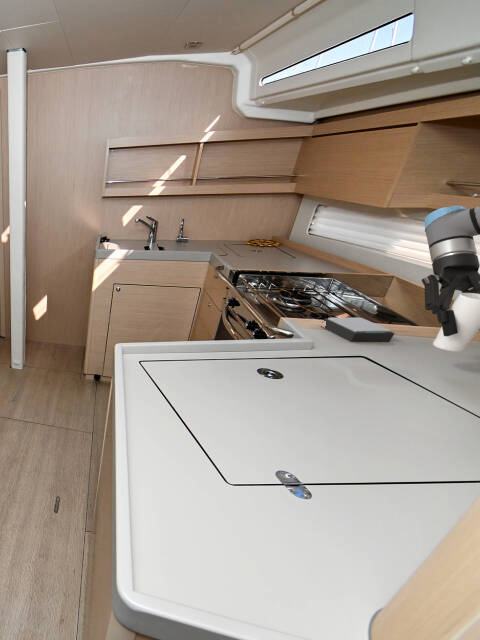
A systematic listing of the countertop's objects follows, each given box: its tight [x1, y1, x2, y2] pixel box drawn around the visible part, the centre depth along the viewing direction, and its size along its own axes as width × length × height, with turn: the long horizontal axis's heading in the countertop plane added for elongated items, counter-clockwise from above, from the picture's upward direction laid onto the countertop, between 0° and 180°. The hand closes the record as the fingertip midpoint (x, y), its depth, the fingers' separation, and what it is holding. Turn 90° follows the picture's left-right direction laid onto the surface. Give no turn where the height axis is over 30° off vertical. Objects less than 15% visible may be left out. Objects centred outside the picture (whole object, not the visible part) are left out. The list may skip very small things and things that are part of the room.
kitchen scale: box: [323, 317, 395, 343], centre depth 120 cm, size 12×12×4 cm
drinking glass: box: [432, 292, 480, 353], centre depth 94 cm, size 7×7×15 cm
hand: (470, 336), depth 91 cm, fingers closed on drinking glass, 7 cm apart
